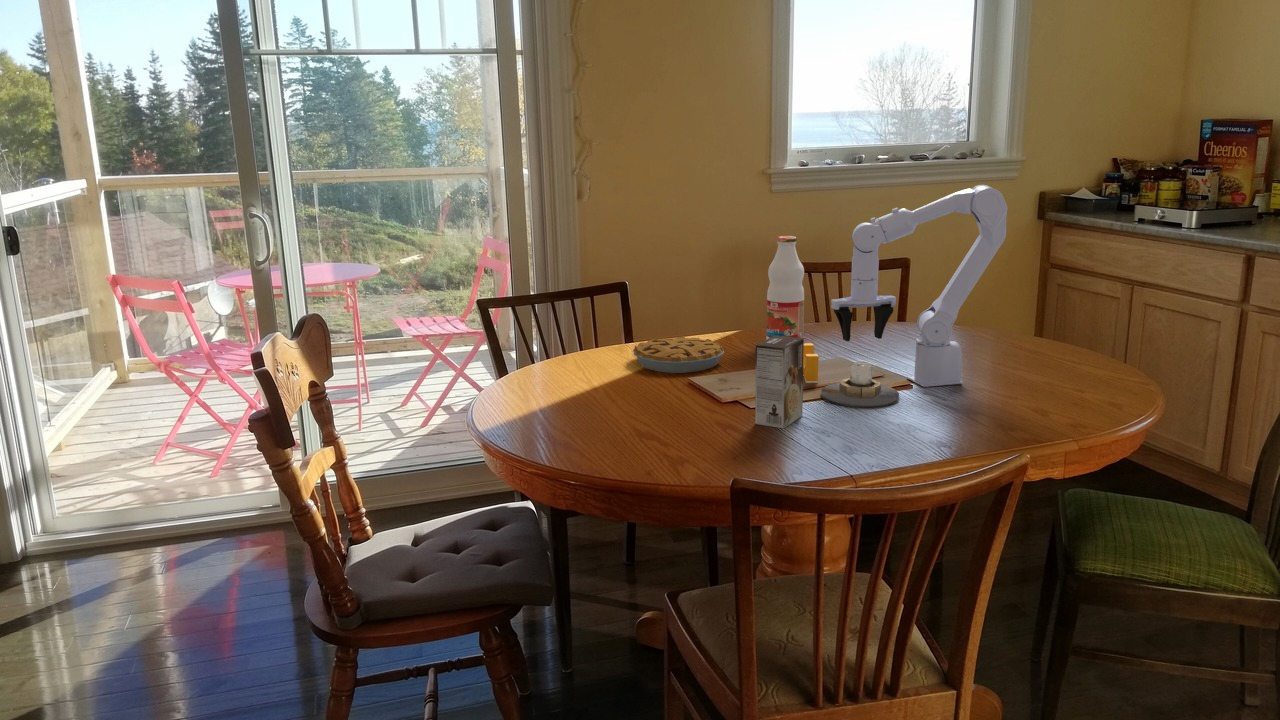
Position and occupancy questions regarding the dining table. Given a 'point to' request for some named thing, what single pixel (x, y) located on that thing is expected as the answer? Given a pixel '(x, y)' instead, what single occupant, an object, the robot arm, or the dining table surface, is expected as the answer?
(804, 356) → the pipe clamp
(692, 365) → the pie
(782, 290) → the fruit juice
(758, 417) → the coffee box
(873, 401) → the ring collar
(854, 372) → the piston
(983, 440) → the dining table surface
